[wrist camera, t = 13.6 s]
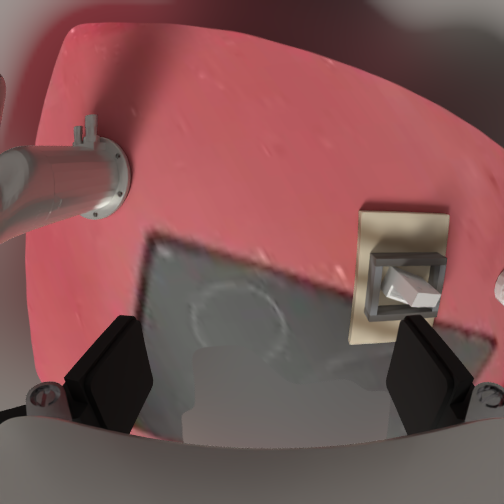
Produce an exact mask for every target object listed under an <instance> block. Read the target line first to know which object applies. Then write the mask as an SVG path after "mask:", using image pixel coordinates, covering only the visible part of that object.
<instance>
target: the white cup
mask: <svg viewBox="0 0 504 504" xmlns="http://www.w3.org/2000/svg"><path fill="white" fill-rule="evenodd" d="M494 291H495V297H496V299H497V300H498V301H499V302H500V303H501V304H502V305H504V270H503V272H502V273H501V274H500V275H499V277H498V279H497V281H496V284H495V290H494Z"/></svg>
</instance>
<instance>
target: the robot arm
mask: <svg viewBox="0 0 504 504" xmlns="http://www.w3.org/2000/svg"><path fill="white" fill-rule="evenodd" d="M5 96H6V85H5V81H4V78H3V77H2V75H1V74H0V125H1V120H2V114H3V108H4V102H5ZM97 127H98V115H96V114H92V115H87V116H85V128H86V137H84V138H83V141H82V134H83V126H76V127H74V142H73V146H19V147H15V148H11V149H9V150H7V151H5V152H3V153H2V154H0V244H2V243H3V242H5V241H7V240H9V239H11V238H13V237H16V236H18V235H21V234H23V233H26V232H29V231H31V230H34V229H37V228H40V227H43V226H46V225H49V224H52V223H55V222H58V221H61V220H64V219H67V218H71V217H74V216H77V215H81V216H82V217H85V218H87V219H93V220H96V219H102V218H105V217H108V216H110V215H112V214H113V213H114V212H116V211H117V210H118V209H119V208H120V207H121V205H122V204H123V202H124V201H125V199H126V197H127V194H128V191H129V187H130V181H131V172H130V165H129V162H128V159H127V157H126V155H125V153H124V151H123V150H122V148H121V147H120V146H119V145H118V144H117V143H115V142H114V141H112V140H110V139H108V138H104V137H100V136H99V135H97ZM122 193H123V194H122ZM97 213H98V214H97ZM64 379H65V383H64V385H63V386H62V385H60V384H59V383H56V382H43V383H40V384H37V385H36V386H34V387H33V388H31V390H29V392H28V393H27V395H26V405H23V406H19V407H16V408H12V409H8V410H4V411H1V412H0V504H504V388H503V387H502V386H500V385H498V384H495V383H491V382H484V383H480V384H478V385H477V386H474V385H473V383H472V382H473V379H474V378H473V376H472V375H471V374H470V372H469V371H468V370H467V369H466V367H465V366H464V365H463V364H462V362H461V361H460V360H459V359H458V358H457V356H456V355H455V354H454V353H453V351H452V350H451V349H450V348H449V347H448V345H447V344H446V343H445V342H444V341H443V340H442V338H441V337H440V336H439V335H438V334H437V332H436V331H435V330H434V329H433V328H432V327H431V326H430V324H429V323H428V322H427V321H426V320H425V319H424V318H423V316H422V315H408V316H405V318H404V320H401V321H400V324H399V328H398V333H397V338H396V342H395V346H394V351H393V355H392V359H391V363H390V367H389V371H388V375H387V379H386V385H387V389H388V391H389V393H390V395H391V398H392V400H393V402H394V404H395V407H396V409H397V411H398V414H399V416H400V418H401V421H402V423H403V425H404V428H405V430H406V432H407V436H402V437H396V438H390V439H385V440H378V441H372V442H365V443H356V444H347V445H337V446H326V447H325V446H324V447H310V448H309V447H308V448H278V449H277V448H272V449H271V448H235V447H219V446H207V445H195V444H187V443H179V442H172V441H165V440H158V439H152V438H146V437H141V436H136V435H130V432H131V429H132V427H133V425H134V423H135V421H136V419H137V417H138V415H139V413H140V411H141V409H142V407H143V405H144V403H145V401H146V398H147V396H148V394H149V392H150V390H151V388H152V386H153V377H152V373H151V369H150V364H149V360H148V356H147V351H146V347H145V342H144V337H143V333H142V328H141V323H140V321H139V320H136V318H135V317H134V316H125V315H119V316H118V317H117V318H116V319H115V320H114V321H113V322H112V324H111V325H110V326H109V327H108V328H107V329H106V330H105V331H104V332H103V333H102V335H101V336H100V337H99V338H98V339H97V340H96V341H95V342H94V344H93V345H92V346H91V347H90V348H89V349H88V350H87V352H86V353H85V354H84V355H83V356H82V357H81V358H80V360H79V361H78V362H77V363H76V364H75V365H74V366H73V368H72V369H71V370H70V371H69V372H68V374H67V375H66V376H65V377H64Z"/></svg>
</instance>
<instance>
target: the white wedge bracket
mask: <svg viewBox="0 0 504 504" xmlns="http://www.w3.org/2000/svg"><path fill="white" fill-rule="evenodd" d="M380 289H381V291H382V292H383V293H384V294H385V296H386V297H388V298H391V299H394V300H397V301H400V302H403V303H406V304H409V305H410V306H411V307H418V308H419V307H435V306H436V304H437V302H438V300H439V298H440V296H441V294H440V293H439V292H438V291H437V290H436V289H434V288H433V287H432V286H431V285H430V284H429V283H428V282H426V281H425V280H424V279H423V278H422V277H420V276H418V275H415V274H413V273H410V272H408V271H405V270H402V269H400V268H397V267H395V266H389V268H388V270H387V273H386V275H385V277H384V279H383V281H382V284H381V287H380Z"/></svg>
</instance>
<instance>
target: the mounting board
mask: <svg viewBox="0 0 504 504" xmlns="http://www.w3.org/2000/svg"><path fill="white" fill-rule="evenodd" d="M449 216H450V215H448V214H444V213H423V212H397V211H360V210H359V220H358V242H357V258H356V271H355V283H354V294H353V304H352V313H351V321H350V329H349V337H348V341H349V343H350V345H353V344H370V343H384V342H396V338H397V333H398V328H399V324H400V321H401V320H404V318H405V316H408V315H422V316H423V318H424V319H425V320H426V321H427V322H428V323H429V324H430V326H431V327H432V325H433V321H434V317H437V313H438V308H439V303H440V298H441V296H440V298H439V300H438V302H437V304H436V306H435V307H419V308H418V307H411V306H410V305H409V304H406V303H403V302H400V301H397V300H394V299H391V298H388V297H386V296H385V294H384V293H383V292H382V291H381V289H380V287H381V284H382V281H383V279H384V277H385V275H386V273H387V270H388V268H389V266H395V267H397V268H400V269H402V270H405V271H408V272H410V273H413V274H415V275H418V276H420V277H422V278H423V279H424V280H425V281H426V282H428V283H429V284H430V285H431V286H432V287H433V288H434V289H436V290H437V291H438V292H439V293H440V294H441V293H442V288H443V282H444V276H445V270H446V263H447V258H446V257H445V254H446V246H447V238H448V228H449Z"/></svg>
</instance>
